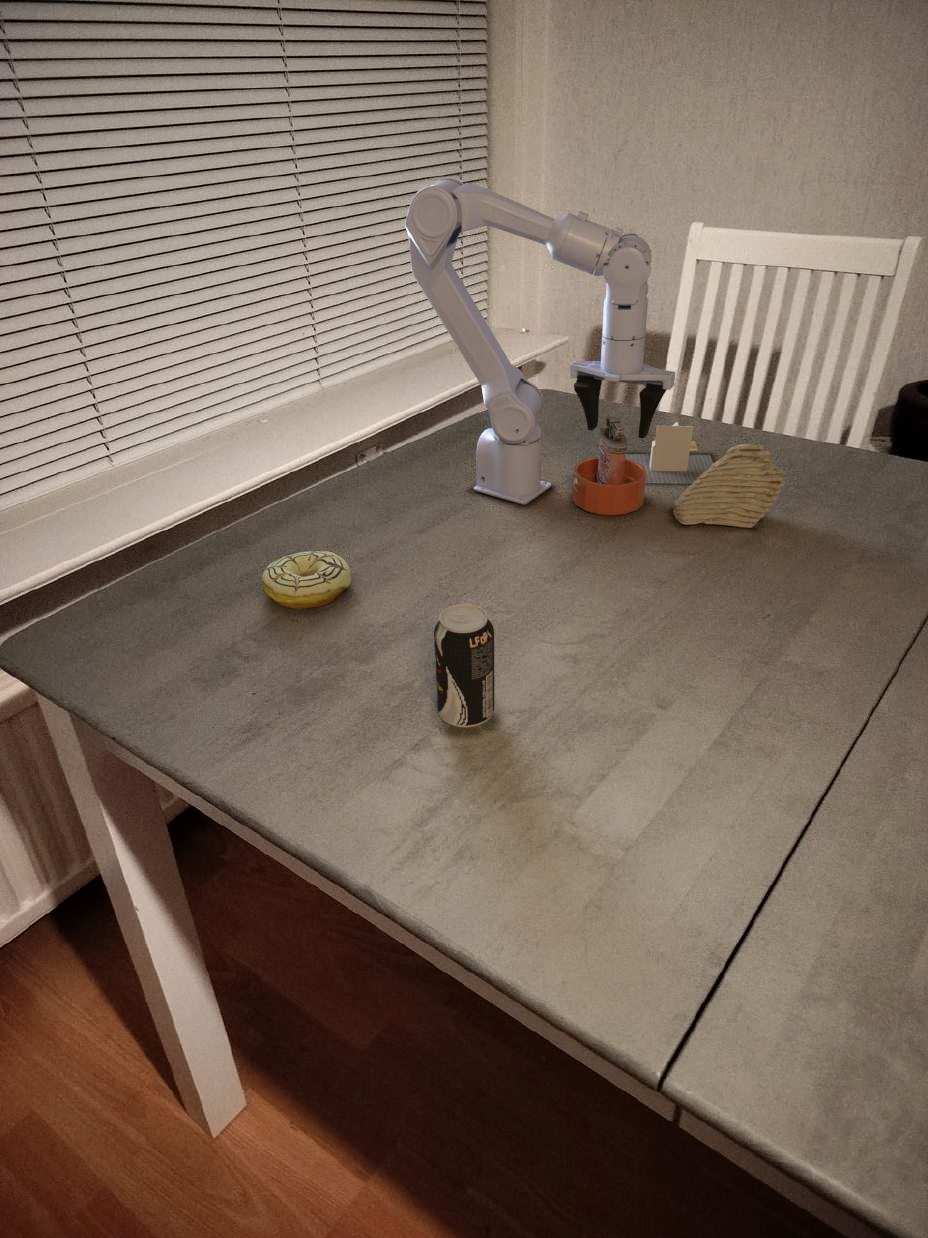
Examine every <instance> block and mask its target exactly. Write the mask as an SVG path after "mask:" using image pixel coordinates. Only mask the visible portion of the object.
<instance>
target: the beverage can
mask: <svg viewBox="0 0 928 1238" xmlns="http://www.w3.org/2000/svg"><path fill="white" fill-rule="evenodd" d="M433 642H434V646H433V647H434V664H435V681H436V682H435V683H436V700H437V701H436V702H437V712H438V716H439V717H440V718H441V719H442V720H443V721H444V722H445V723H447V724H449V725H451V726H453V727H458V728H473V727H478V726H480V725H483V724H484V723H486V722H487V721H489V720H490V719H491V717H492V716H493V714H494V712H495V628H494V625H493V623H492V622H491V620H489V617H488V613H487V611H486V610H485V609H484V608H482V607H480V606H479V605H475V604H472V603H457V604H453V605H450V606H448V607H446V608H444V609H443V610H442V611H441V613H440V614H439V620H438V621H437V622H436V624H435V626H434V630H433Z"/></svg>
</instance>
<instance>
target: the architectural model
mask: <svg viewBox="0 0 928 1238" xmlns="http://www.w3.org/2000/svg"><path fill="white" fill-rule="evenodd" d="M693 431H694V426H693V425H680V424H679V421H676V422H674V423H673V424H672V425H656V431H655V434H653V439H652V440H651V449H650V453H649V454H647V453H640V454H639V453H626V454H625V459H629V460H633V461H635V462H637V463H639V464H641V465H642V466H643V467H644V468H645V469H646V470H647V473H646V483H645V484H675V485H676V484H678V485H679V484H681V485H683V484H684V485H685V484H687V485H688V484H689V485H691V484H692V483H694V480H696V479H697V478H698V477H699V476H700V475H701V474H703V473H704V471H706V470H708V469H709V468H710V467H711V465H712V464H713V463H714V461H713V459H712V456H711V454H691V453H690V452H693V451H694V452H696V451H698V445H697V442H696V441H695V440H692V438H693V433H694V432H693Z"/></svg>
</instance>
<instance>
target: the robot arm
mask: <svg viewBox="0 0 928 1238" xmlns="http://www.w3.org/2000/svg"><path fill="white" fill-rule="evenodd" d="M588 217H589V214H588V213H586V212H584V211H580V210H579V211H578V212H577V213H576V214H574V213H571V212H567V213H566V214H564V215H562V216H560V217H558V218H554V217H551V216H549V215H546V214H544V213H542V212H540V211H537V210H536V209H533V208H531V207H529V206H526V205H524V204H522V203H519V202H518V201H515V200H513V199H511V198H509V197H507V196H504V195H502V194H499V193H497V192H495V191H492V190H490V189H488V188H486V187H483V186H480V185H478V184H475V183H471V182H465V183H463V182H462V181H460V180H459V179H457V178H453V177H444V178H441V179H439V180H436V181H435V182H434V183H433V184H431V185H428V186H424V187H422V188H421V189H419V190H418V191H417V192H416V193H415V194H414V195H413V197H412V198H411V201H410V204H409V207H408V211H407V214H406V218H405V221H404V227H405V229H406V232H407V234H408V245H409V247H408V248H409V258H410V270H411V273H412V275H413V278H414V279H415V281H416V282H417V284H418V286H419V287H420V289H421V290H422V293H423V294H424V296H425V297H426V299H427V300H428V302H429V303H430V305H431V307H432V309H433V310H434V312H435V313H436V314H437V317H438V318H439V320H440V321H441V323H442V325H443V326H444V328H445V329H446V331H447V333H448V334H449V336H450V338H451V340H452V341H453V343H454V344H455V345H456V347H457V349H458V350H459V352H460V354H461V356H462V357H463V358H464V360H465V362H466V363H467V365H468V366H469V368H470V370H471V371H472V373H473V375H474V376H475V378H476V380H477V381H478V382H479V384H480V387H481V391H482V397H483V404H484V406H485V407H486V409H487V412H488V413H489V416H490V424H491V427H489V428H487V429H485V430H483V432H482V433H481V434H480V436H479V438H478V440H477V444H476V449H475V467H476V468H475V469H476V472H475V473H476V485H475V486H473V490H474V492H478V493H481V494H485V495H489V496H492V497H495V498H499V499H502V500H506V501H509V502H513V503H516V504H519V505H527V504H529V503H530V502H532V501H533V500H535V499H536V498H537V497H539V496H540V495H541V494H543V493H544V492H545V491H547V490H548V489H550V488H551V487H552V483H551V482H548V481H544V480H542V479H541V478H542V477H541V475H542V448H543V447H542V445H543V431H542V428H541V427H540V426H539V423H538V421H537V420H538V418H539V416H540V415H541V413H542V412H543V408H544V402H545V401H544V396H543V393H542V392H541V390H540V389H539V387H538V386H537V385H536V384H534V383H532V382H530V380H528V379H527V378H526V376H525V375H524V374H523V372H522V370H521V369H519V368H518V367H516V365H514V364H512V363H511V361H510V360H509V358H508V356H507V355H506V352H505V351H504V349H503V348H502V346H501V345H500V343H499V341H498V340H497V337H496V336H495V334H494V332H493V331H492V329H491V327H490V326H489V324H488V323H487V321H486V319H485V318H484V316H483V314H482V313H481V310H480V309H479V307H478V306H477V304H476V302H475V301H474V299H473V297H472V296H471V294H470V292H469V290H468V289H467V287H466V286H465V284H464V282H463V281H462V279H461V277H460V276H459V274H458V272H457V270H456V269H455V267H454V266H453V259H454V256H455V255H454V254H455V251H456V247H457V243H458V238H459V236H460V235H461V233H462V232H467V231H472V230H475V229H480V228H482V227H492V228H494V229H496V230H500V231H503V232H505V233H509V234H512V235H515V236H518V237H521V238H523V239H526V240H530V241H533V242H536V243H538V244H541V245H544V246H545V247H546V248H547V250H548V253H549V255H550V257H551V259H552V260H554V261H556V262H559V263H561V264H564V265H567V266H569V267H572V268H574V269H577V270H579V271H582V272H583V273H584V272H585V273H587V274H589V275H593V276H594V277H602V276H603V278H604V280H605V282H606V286H605V288H606V289H605V298H604V300H603V309H602V311H603V312H602V313H603V314H602V330H601V331H602V332H601V333H602V334H601V351H600V361H599V360H574V361H573V362H571V363H570V364H569V378H570V379H576V380H575V383H574V384H573V390H574V391H575V393H576V395H577V397H578V399H579V402H580V404H581V406H582V409H583V413H584V416H585V421H586V426H587V427H586V428H587V431H590V432H591V431H594V430H595V429H596V428H597V427H598V425H599V405H600V394H601V388H602V383H603V381H606V382H614V383H622V384H632V385H641V386H645V387H644V388H642V390H641V391H639V405H640V408H639V409H640V414H639V415H640V417H639V419H640V420H639V426H638V438H639V439H645V438H646V437H647V436H648V434H649V431H650V427H651V424H652V421H653V419H654V415H655V413H656V411H657V408H658V406H659V404H660V402H661V401H662V398H663V397H664V395H665V394H666V392H667V391H670V390H671V389H672V388H673V387H674V386H675V382H676V381H675V380H676V371H673V370H667V369H663V368H658V367H654V366H650V365H646V364H644V359H645V346H646V345H645V344H646V334H647V333H646V332H647V319H648V306H649V300H648V297H647V295H648V292H649V283H648V279H649V277H650V275H651V272H652V266H651V265H652V261H653V260H652V258H653V255H652V251H651V247H650V245H649V244H648V242H647V241H646V240H645V239H644V238H643V237H641V236H639V235H638V234H637V233H636V232H625V233H623V232H624V229H623V228H620V227H618V226H615V228H614V229H611V228H609V227H607V226H604V225H601V224H599V223H597V222H595V221H591V220H589V219H588Z"/></svg>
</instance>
